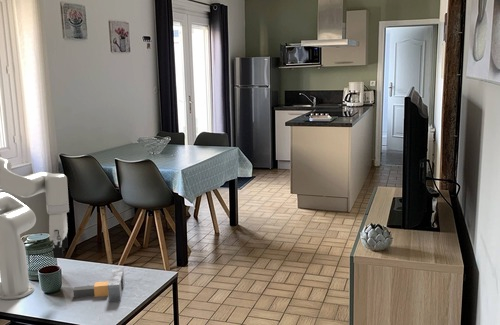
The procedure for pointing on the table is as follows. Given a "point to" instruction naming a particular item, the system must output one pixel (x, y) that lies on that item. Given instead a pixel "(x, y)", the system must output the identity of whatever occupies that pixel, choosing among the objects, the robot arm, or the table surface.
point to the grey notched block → (116, 284)
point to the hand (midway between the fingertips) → (61, 252)
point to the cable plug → (92, 290)
